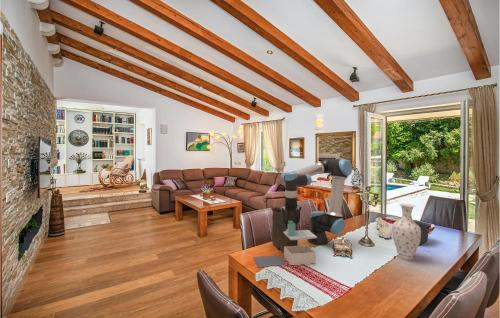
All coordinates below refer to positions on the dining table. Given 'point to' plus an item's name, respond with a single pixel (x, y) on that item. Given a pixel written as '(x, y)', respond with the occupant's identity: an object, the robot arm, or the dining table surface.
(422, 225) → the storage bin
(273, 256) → the mat
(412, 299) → the dining table surface
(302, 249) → the tub
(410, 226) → the vase
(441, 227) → the dining table surface
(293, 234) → the lid
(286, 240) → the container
